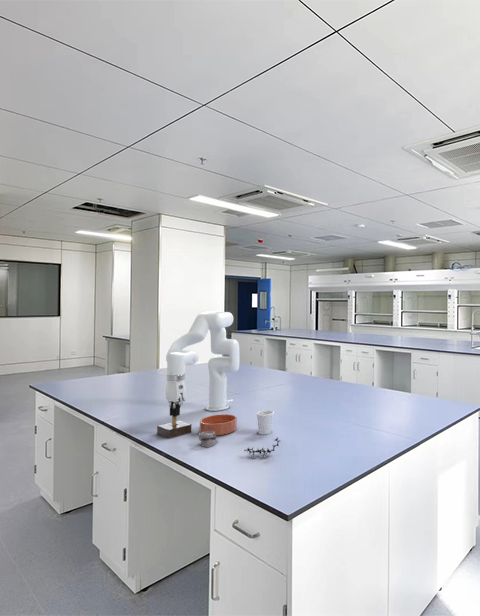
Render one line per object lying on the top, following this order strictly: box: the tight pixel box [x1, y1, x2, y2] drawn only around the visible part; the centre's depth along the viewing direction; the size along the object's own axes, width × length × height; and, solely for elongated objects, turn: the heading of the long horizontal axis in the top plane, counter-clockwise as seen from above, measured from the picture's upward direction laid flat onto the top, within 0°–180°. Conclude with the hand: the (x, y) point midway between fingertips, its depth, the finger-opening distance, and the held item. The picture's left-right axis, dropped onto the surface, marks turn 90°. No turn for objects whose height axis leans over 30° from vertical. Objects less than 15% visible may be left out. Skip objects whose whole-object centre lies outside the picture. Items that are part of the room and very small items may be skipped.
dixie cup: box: [255, 409, 275, 435], centre depth 187 cm, size 8×8×10 cm
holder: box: [156, 420, 192, 439], centre depth 182 cm, size 11×11×4 cm
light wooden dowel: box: [171, 404, 178, 426], centre depth 182 cm, size 2×2×14 cm
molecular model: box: [243, 436, 282, 458], centre depth 157 cm, size 6×15×8 cm, turn 96°
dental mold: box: [198, 431, 217, 448], centre depth 170 cm, size 8×7×5 cm
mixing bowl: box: [198, 413, 238, 437], centre depth 187 cm, size 17×17×6 cm
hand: (174, 415), depth 182 cm, fingers closed on light wooden dowel, 1 cm apart
